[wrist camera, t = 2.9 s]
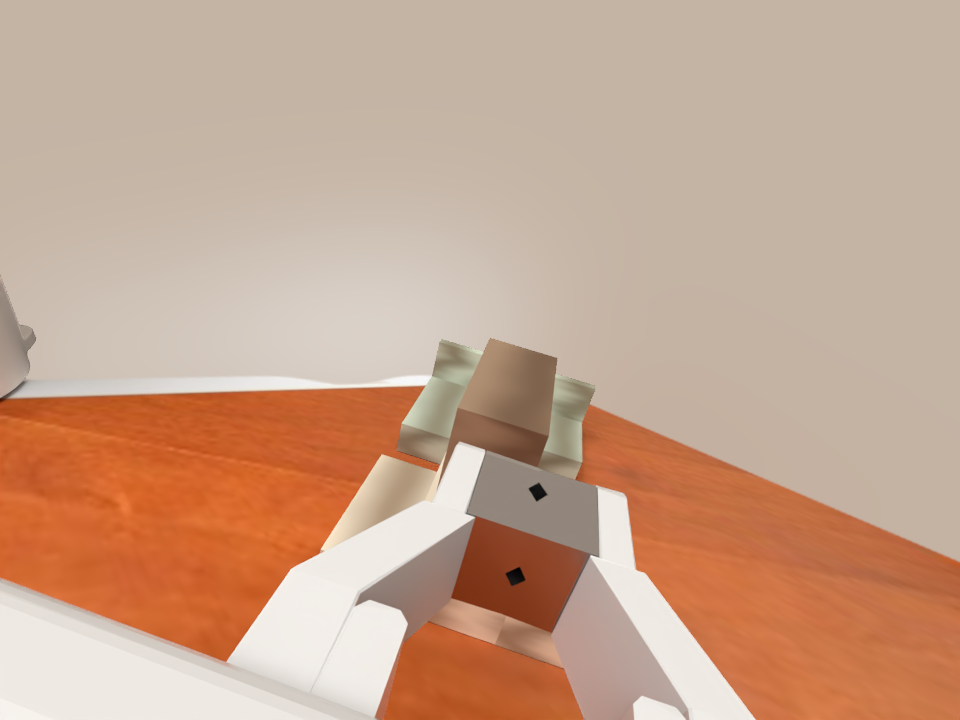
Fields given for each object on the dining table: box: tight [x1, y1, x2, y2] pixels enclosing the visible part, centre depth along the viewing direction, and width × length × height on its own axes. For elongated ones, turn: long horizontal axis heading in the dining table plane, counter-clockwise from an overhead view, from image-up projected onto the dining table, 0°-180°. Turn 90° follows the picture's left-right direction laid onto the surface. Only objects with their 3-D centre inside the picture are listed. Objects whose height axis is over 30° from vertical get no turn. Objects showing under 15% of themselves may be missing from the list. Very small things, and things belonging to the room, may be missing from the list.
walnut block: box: [437, 338, 557, 489], centre depth 29 cm, size 4×9×12 cm, turn 168°
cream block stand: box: [320, 339, 595, 669], centre depth 37 cm, size 16×24×7 cm, turn 168°
